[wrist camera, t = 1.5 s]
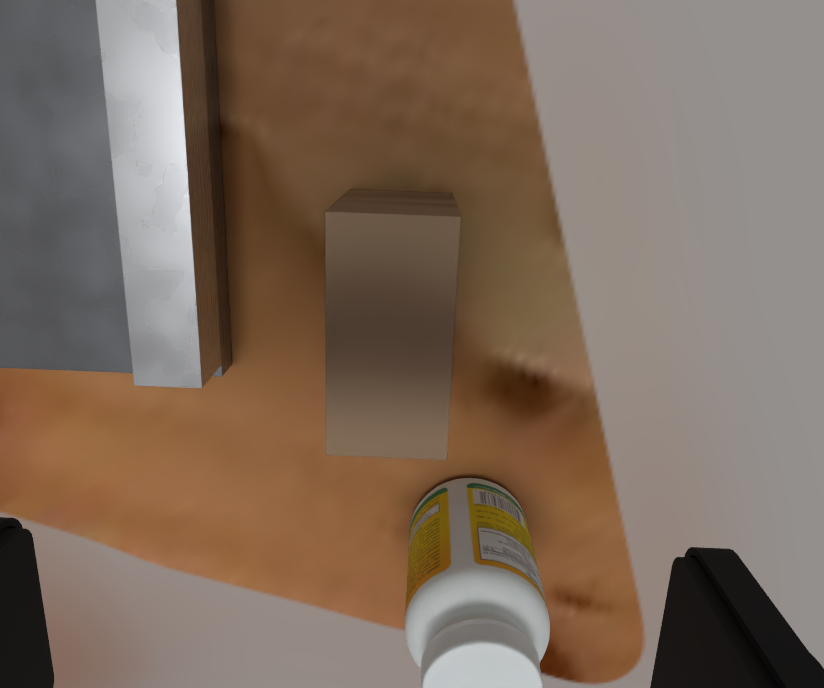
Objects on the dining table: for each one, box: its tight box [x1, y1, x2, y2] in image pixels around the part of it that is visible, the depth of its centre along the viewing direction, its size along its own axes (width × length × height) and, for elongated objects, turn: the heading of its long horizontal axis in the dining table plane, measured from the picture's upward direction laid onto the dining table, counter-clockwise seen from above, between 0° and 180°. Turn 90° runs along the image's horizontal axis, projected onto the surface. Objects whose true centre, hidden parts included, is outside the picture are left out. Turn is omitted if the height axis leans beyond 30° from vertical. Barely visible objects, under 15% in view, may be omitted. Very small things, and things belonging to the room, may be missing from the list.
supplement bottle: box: [405, 478, 550, 688], centre depth 27 cm, size 5×5×10 cm
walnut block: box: [325, 189, 461, 460], centre depth 24 cm, size 8×4×7 cm, turn 178°
